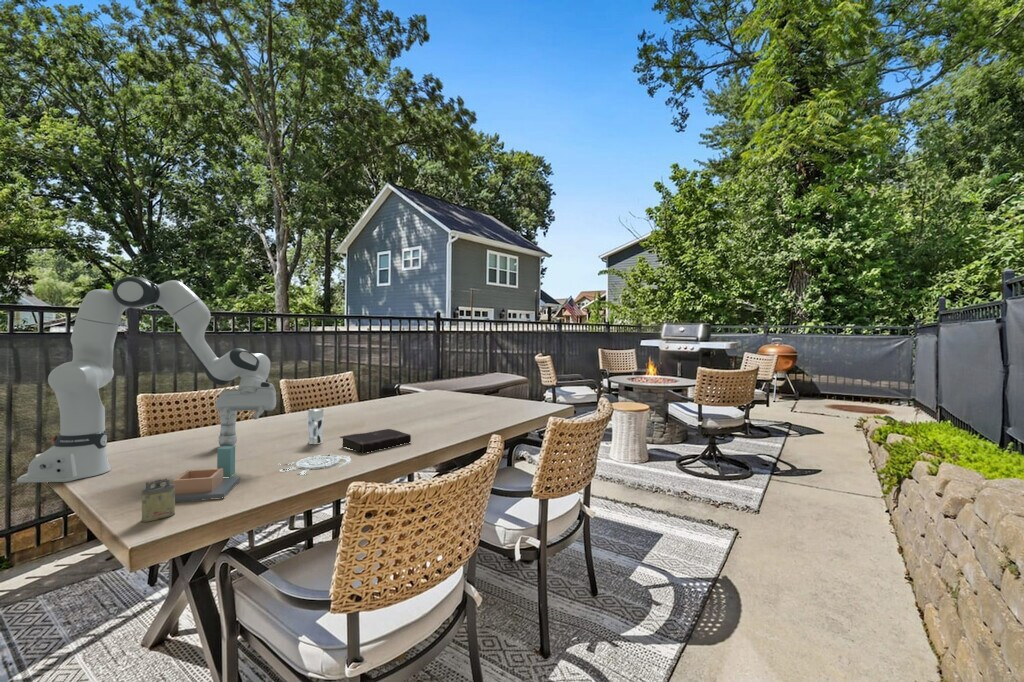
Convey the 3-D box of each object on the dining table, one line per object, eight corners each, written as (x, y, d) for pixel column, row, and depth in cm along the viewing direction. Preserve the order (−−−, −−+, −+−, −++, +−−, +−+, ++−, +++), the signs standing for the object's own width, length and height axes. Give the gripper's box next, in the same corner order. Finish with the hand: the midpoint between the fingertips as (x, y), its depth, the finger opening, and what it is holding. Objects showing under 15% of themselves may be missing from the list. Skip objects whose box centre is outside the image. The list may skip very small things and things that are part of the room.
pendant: (366, 463, 173) (366, 459, 173) (292, 480, 152) (292, 476, 152) (338, 452, 187) (338, 449, 187) (267, 466, 165) (267, 463, 165)
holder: (152, 504, 127) (152, 485, 127) (176, 485, 142) (176, 468, 142) (223, 498, 132) (224, 480, 132) (239, 481, 147) (240, 464, 147)
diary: (411, 445, 202) (411, 434, 202) (363, 456, 183) (363, 444, 183) (386, 437, 214) (386, 427, 214) (338, 447, 194) (338, 436, 194)
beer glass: (317, 445, 195) (317, 411, 195) (303, 444, 197) (303, 410, 196) (326, 441, 202) (327, 409, 202) (313, 440, 203) (313, 408, 203)
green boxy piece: (173, 511, 122) (173, 475, 122) (177, 515, 120) (177, 478, 119) (139, 519, 117) (140, 482, 116) (143, 523, 114) (143, 485, 114)
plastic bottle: (223, 444, 194) (224, 398, 194) (239, 444, 194) (240, 399, 194) (215, 448, 187) (215, 401, 187) (231, 448, 188) (232, 401, 188)
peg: (217, 478, 150) (217, 448, 150) (222, 474, 154) (222, 445, 154) (230, 477, 151) (230, 448, 151) (234, 474, 155) (235, 445, 155)
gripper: (219, 384, 170) (207, 414, 160) (277, 383, 174) (268, 413, 164) (224, 394, 174) (212, 424, 165) (280, 393, 178) (272, 422, 169)
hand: (241, 418), depth 165 cm, fingers open, 8 cm apart
